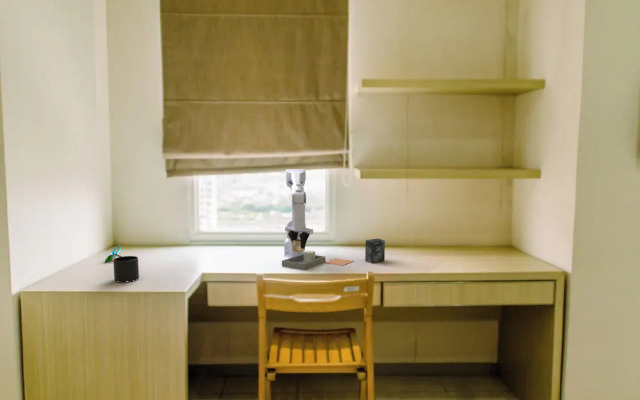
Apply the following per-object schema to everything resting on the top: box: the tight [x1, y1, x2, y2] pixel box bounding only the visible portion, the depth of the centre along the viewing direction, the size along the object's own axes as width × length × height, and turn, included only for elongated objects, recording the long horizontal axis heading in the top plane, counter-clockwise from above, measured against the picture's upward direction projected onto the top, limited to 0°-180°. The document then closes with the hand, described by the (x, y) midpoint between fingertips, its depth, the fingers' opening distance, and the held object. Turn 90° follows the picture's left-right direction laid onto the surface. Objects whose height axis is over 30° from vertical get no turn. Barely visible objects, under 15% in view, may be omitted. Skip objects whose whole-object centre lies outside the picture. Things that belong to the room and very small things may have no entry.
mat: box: [324, 257, 354, 267], centre depth 218 cm, size 10×10×1 cm
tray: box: [281, 253, 326, 271], centre depth 214 cm, size 13×18×3 cm
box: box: [364, 238, 386, 264], centre depth 220 cm, size 8×6×11 cm
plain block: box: [304, 250, 316, 263], centre depth 218 cm, size 4×4×5 cm
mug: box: [113, 255, 140, 283], centre depth 191 cm, size 9×12×9 cm
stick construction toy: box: [104, 245, 123, 263], centre depth 224 cm, size 12×7×8 cm
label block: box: [293, 239, 306, 252], centre depth 209 cm, size 4×4×5 cm
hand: (299, 247), depth 210 cm, fingers closed on label block, 4 cm apart
